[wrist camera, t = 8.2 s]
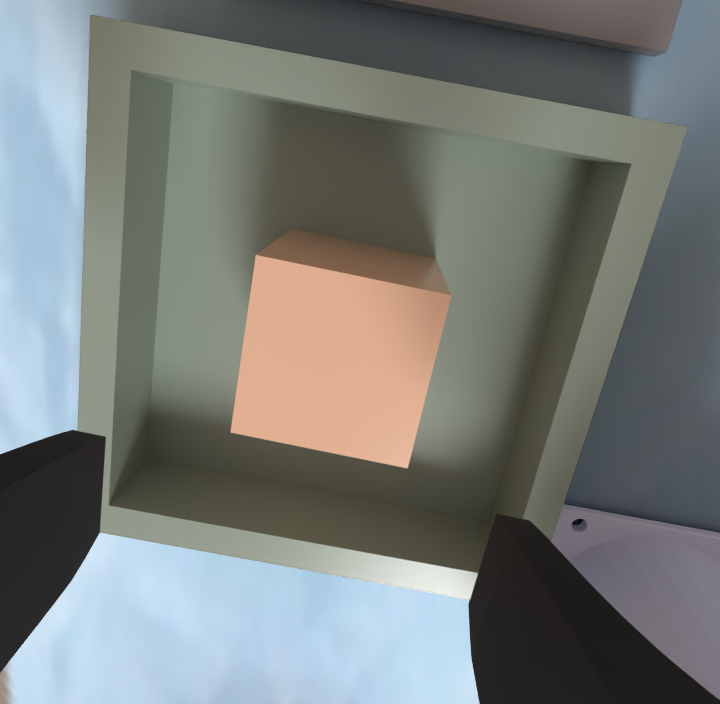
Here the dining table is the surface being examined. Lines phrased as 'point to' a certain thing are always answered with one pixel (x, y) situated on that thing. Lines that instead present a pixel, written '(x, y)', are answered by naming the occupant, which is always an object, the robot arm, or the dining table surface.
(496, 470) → the olive bin
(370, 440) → the clay block
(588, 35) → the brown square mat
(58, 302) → the dining table surface
